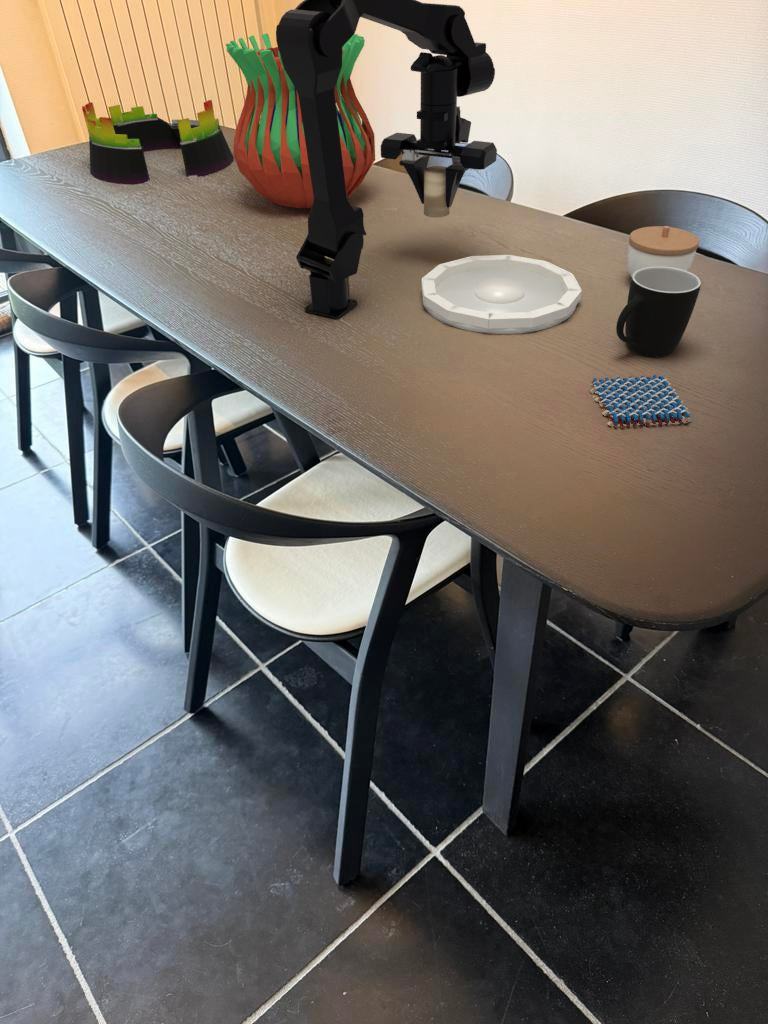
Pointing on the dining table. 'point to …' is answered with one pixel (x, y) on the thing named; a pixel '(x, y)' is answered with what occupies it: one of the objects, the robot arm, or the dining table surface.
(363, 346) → the dining table surface
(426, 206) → the tan rounded cylinder
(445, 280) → the ring tray
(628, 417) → the woven mat
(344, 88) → the vase
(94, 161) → the decorative container
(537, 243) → the dining table surface
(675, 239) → the lidded jar
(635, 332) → the mug
